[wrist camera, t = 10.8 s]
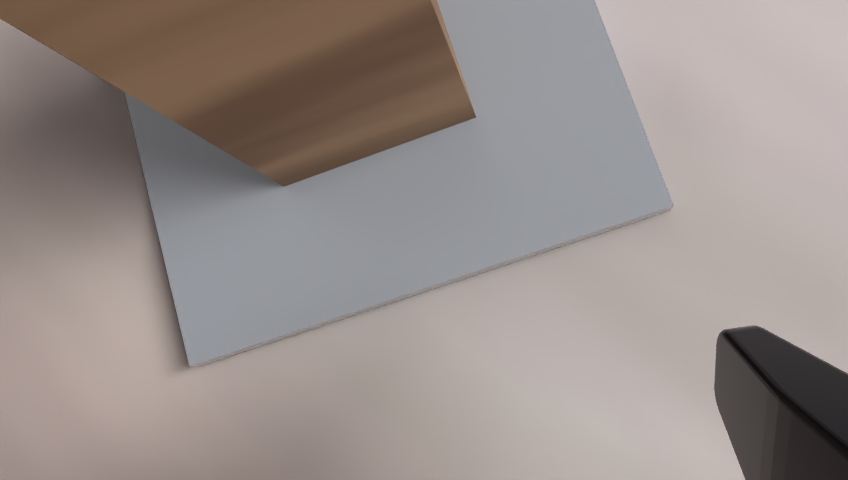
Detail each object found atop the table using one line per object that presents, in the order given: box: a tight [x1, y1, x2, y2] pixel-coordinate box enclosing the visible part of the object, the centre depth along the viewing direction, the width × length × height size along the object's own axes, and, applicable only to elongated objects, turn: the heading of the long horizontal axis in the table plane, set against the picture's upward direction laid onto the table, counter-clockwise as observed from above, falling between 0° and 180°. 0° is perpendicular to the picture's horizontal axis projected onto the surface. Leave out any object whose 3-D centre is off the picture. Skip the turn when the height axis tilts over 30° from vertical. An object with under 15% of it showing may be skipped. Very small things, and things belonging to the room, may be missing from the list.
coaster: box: [124, 0, 673, 366], centre depth 19 cm, size 12×12×1 cm
